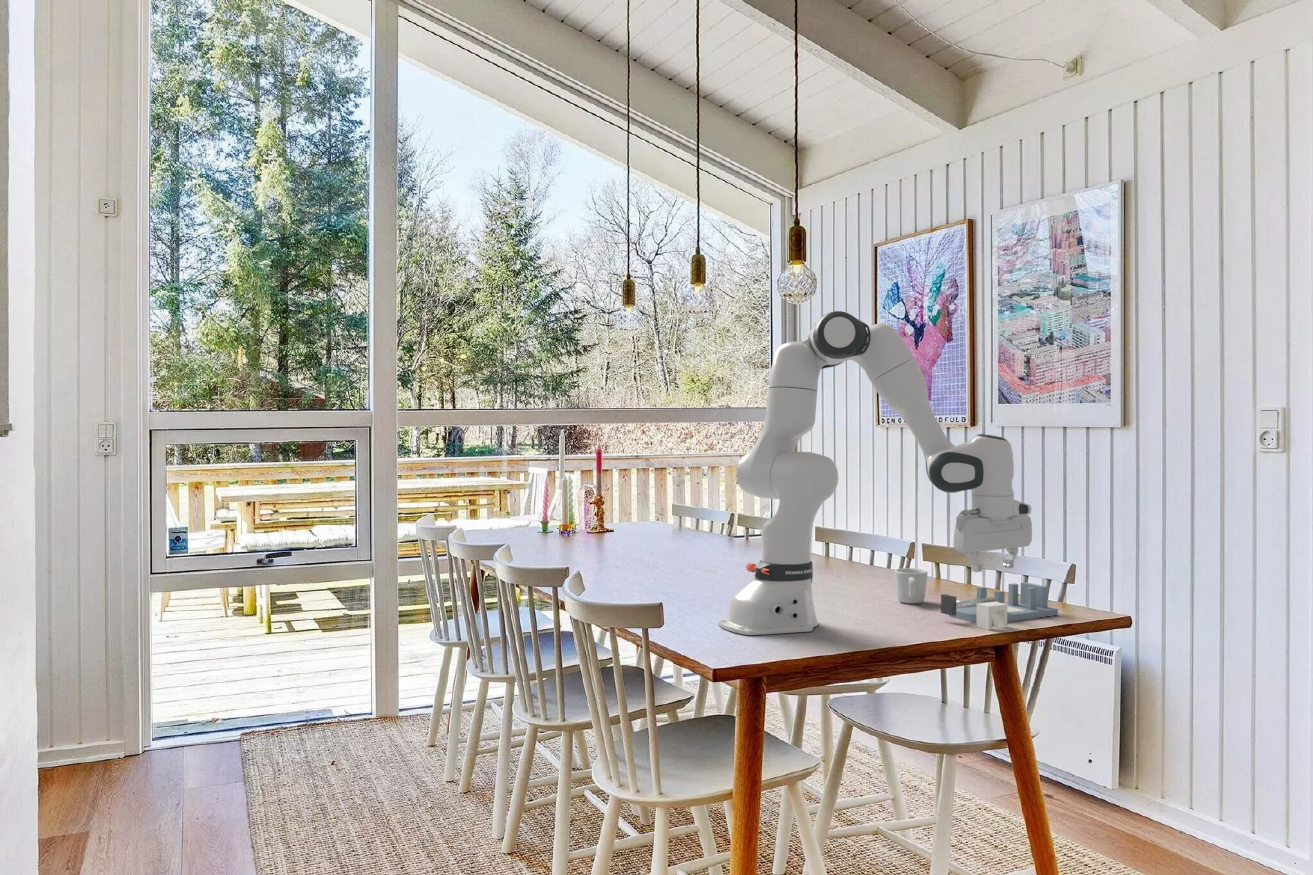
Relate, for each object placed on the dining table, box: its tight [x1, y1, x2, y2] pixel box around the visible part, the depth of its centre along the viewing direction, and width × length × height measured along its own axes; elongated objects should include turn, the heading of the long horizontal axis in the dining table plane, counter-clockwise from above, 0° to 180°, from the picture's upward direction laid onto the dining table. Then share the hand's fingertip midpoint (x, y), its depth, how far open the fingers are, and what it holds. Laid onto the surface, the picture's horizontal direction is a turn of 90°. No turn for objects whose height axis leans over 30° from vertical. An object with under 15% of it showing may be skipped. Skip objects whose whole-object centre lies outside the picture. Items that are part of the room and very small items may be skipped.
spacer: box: [975, 602, 1008, 631], centre depth 210 cm, size 4×6×5 cm, turn 115°
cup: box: [894, 567, 928, 605], centre depth 237 cm, size 11×8×8 cm
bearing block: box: [948, 581, 1059, 624], centre depth 222 cm, size 23×11×6 cm, turn 115°
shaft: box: [940, 593, 994, 617], centre depth 217 cm, size 14×4×4 cm, turn 115°
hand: (992, 569), depth 210 cm, fingers open, 8 cm apart
